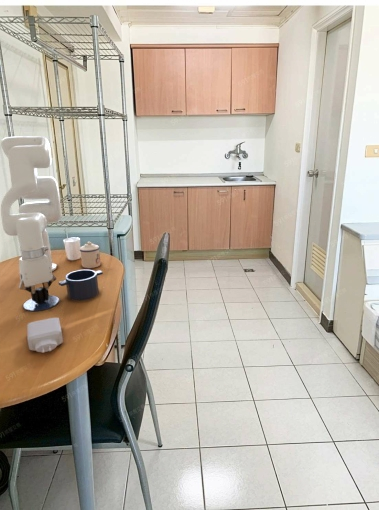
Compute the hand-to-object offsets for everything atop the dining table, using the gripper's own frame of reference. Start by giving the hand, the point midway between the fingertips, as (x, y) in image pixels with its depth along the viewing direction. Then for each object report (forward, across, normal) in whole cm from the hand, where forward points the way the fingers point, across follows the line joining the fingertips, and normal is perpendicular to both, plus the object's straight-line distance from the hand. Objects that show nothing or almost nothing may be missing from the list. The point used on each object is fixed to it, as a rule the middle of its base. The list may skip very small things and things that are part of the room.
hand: (41, 300), depth 126 cm
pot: (+2, -15, +3) cm, 15 cm away
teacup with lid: (+2, -34, -27) cm, 43 cm away
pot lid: (+1, 0, 0) cm, 1 cm away
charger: (+2, +9, +28) cm, 29 cm away
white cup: (+2, -32, -42) cm, 53 cm away
